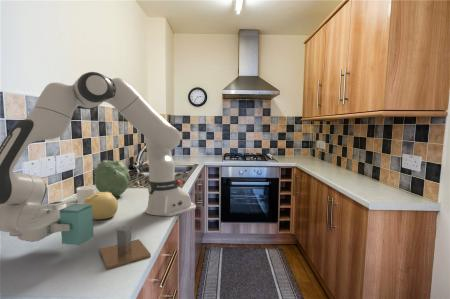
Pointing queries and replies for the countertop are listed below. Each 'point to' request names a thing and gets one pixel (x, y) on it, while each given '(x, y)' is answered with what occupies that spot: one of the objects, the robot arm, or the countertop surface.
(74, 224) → the teal tall prism
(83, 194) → the white cup
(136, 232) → the countertop surface
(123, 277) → the countertop surface
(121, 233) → the brown square base plate
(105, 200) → the sculpture
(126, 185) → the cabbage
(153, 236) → the countertop surface
